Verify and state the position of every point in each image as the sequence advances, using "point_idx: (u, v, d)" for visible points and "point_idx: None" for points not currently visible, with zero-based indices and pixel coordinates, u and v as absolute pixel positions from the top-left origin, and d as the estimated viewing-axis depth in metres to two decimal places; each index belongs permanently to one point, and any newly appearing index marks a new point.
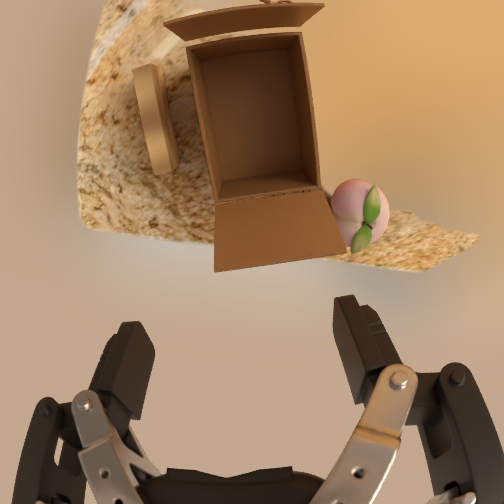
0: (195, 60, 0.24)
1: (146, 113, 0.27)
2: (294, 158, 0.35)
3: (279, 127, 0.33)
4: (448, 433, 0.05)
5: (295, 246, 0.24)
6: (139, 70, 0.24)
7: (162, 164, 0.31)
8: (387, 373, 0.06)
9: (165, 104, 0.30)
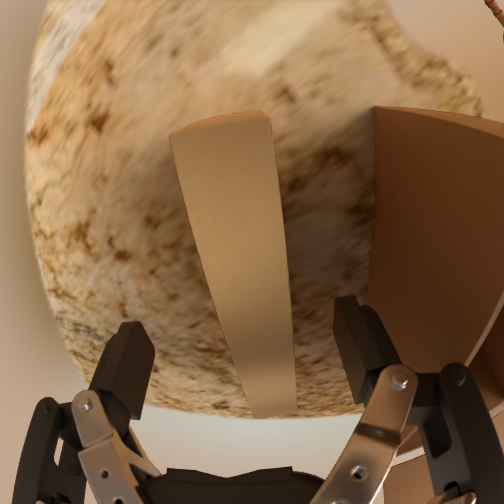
0: None
1: (244, 323, 0.09)
2: None
3: None
4: (448, 433, 0.05)
5: None
6: (209, 145, 0.06)
7: (278, 407, 0.12)
8: (387, 373, 0.06)
9: None
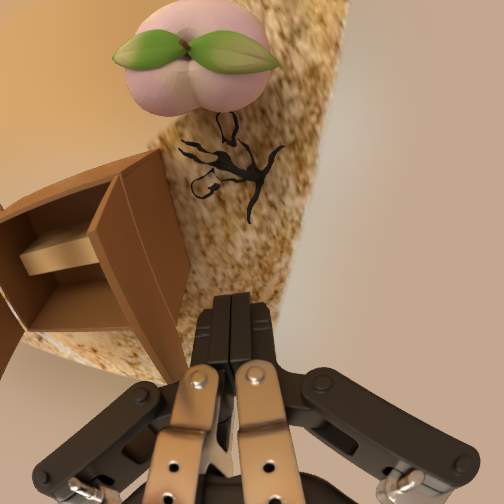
0: (44, 311, 0.22)
1: (64, 260, 0.20)
2: None
3: (102, 197, 0.22)
4: None
5: None
6: (27, 267, 0.20)
7: None
8: (247, 366, 0.08)
9: (70, 228, 0.22)
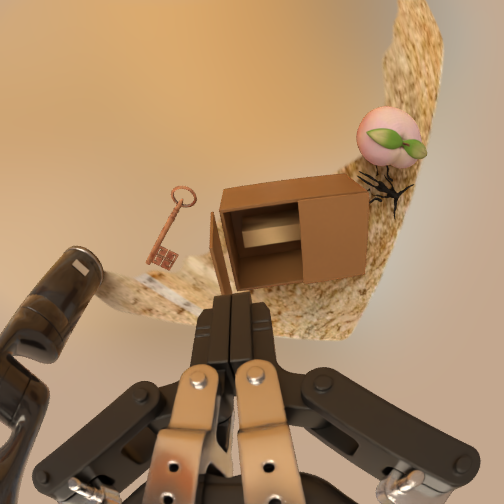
0: (245, 276, 0.39)
1: (289, 235, 0.36)
2: None
3: None
4: None
5: None
6: (247, 241, 0.37)
7: None
8: (247, 366, 0.08)
9: (280, 215, 0.39)
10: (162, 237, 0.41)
